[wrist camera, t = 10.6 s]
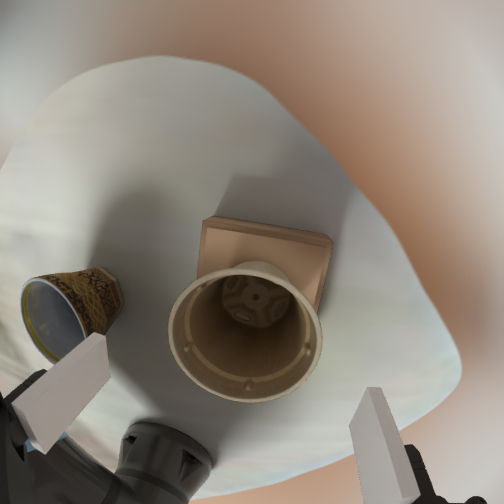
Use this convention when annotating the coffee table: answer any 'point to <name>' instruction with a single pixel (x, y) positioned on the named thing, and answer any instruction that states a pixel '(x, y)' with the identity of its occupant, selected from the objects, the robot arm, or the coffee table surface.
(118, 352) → the coffee table surface
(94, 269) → the ceramic cup
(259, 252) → the stand
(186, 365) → the flower pot
